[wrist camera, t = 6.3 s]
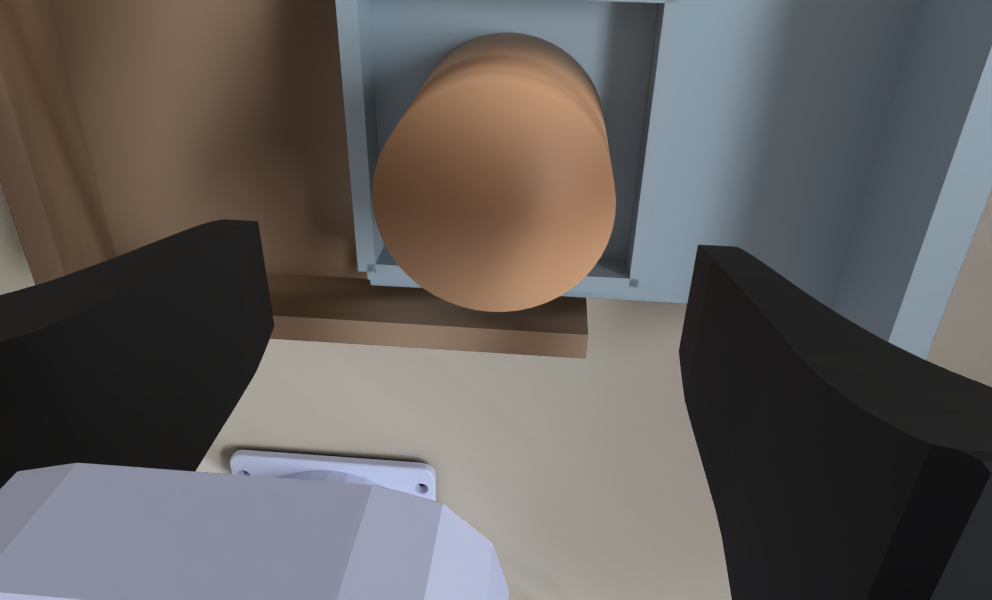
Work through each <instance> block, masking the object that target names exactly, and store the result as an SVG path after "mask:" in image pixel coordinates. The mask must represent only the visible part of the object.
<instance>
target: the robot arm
mask: <svg viewBox="0 0 992 600" xmlns="http://www.w3.org/2000/svg"><path fill="white" fill-rule="evenodd" d="M273 329H274V320H273V313H272V307H271V300H270V294H269V288H268V281H267V275H266V268H265V262H264V256H263V249H262V243H261V236H260V230H259V224H258V221H247V220H229V219H221V220H216V221H211V222H208V223H204V224H201V225H198V226H195V227H192V228H190V229H187V230H184V231H181V232H179V233H176V234H174V235H171V236H168V237H166V238H163V239H161V240H158V241H156V242H153V243H151V244H148V245H146V246H143V247H141V248H138V249H135V250H133V251H130V252H128V253H125V254H123V255H120V256H118V257H115V258H112V259H110V260H107V261H104V262H101V263H98V264H96V265H93V266H90V267H87V268H85V269H82V270H79V271H76V272H74V273H71V274H68V275H65V276H63V277H60V278H57V279H54V280H51V281H48V282H44V283H41V284H38V285H35V286H31V287H28V288H25V289H21V290H18V291H14V292H10V293H7V294H3V295H0V600H508V597H509V589H508V586H507V583H506V580H505V577H504V574H503V572H502V569H501V566H500V563H499V560H498V557H497V554H496V551H495V548H494V546H493V543H492V542H490V541H489V540H488V539H487V538H485V537H484V536H483V535H481V534H480V533H479V532H478V531H476V530H475V529H474V528H473V527H471V526H470V525H469V524H468V523H466V522H465V521H464V520H463V519H461V518H460V517H459V516H457V515H456V514H455V513H454V512H452V511H451V510H450V509H449V508H447V507H446V506H445V505H444V504H442V503H440V502H437V501H436V473H435V470H434V469H433V467H432V466H430V465H428V464H425V463H418V462H404V461H391V460H377V459H363V458H349V457H336V456H322V455H308V454H295V453H281V452H267V451H253V450H238V451H236V452H234V454H233V455H232V457H231V459H230V468H231V473H232V474H220V473H207V472H195V471H196V469H197V468H198V466H199V464H200V463H201V461H202V460H203V458H204V456H205V455H206V453H207V451H208V450H209V448H210V447H211V445H212V443H213V442H214V440H215V439H216V437H217V435H218V434H219V432H220V431H221V429H222V427H223V426H224V424H225V422H226V421H227V419H228V418H229V416H230V414H231V413H232V411H233V410H234V408H235V406H236V405H237V403H238V401H239V400H240V398H241V396H242V395H243V393H244V391H245V390H246V388H247V386H248V385H249V383H250V381H251V380H252V378H253V376H254V374H255V373H256V371H257V368H258V366H259V364H260V361H261V359H262V357H263V354H264V352H265V349H266V347H267V344H268V342H269V339H270V336H271V334H272V331H273ZM679 356H680V365H681V374H682V382H683V390H684V397H685V403H686V406H687V410H688V414H689V417H690V421H691V425H692V428H693V432H694V436H695V439H696V443H697V446H698V450H699V453H700V457H701V460H702V464H703V467H704V471H705V474H706V478H707V481H708V485H709V488H710V492H711V495H712V499H713V502H714V506H715V509H716V513H717V518H718V522H719V526H720V531H721V535H722V540H723V546H724V553H725V559H726V565H727V571H728V578H729V584H730V590H731V597H732V600H992V387H989V386H987V385H984V384H982V383H979V382H977V381H974V380H972V379H969V378H967V377H964V376H962V375H959V374H956V373H954V372H951V371H949V370H947V369H944V368H942V367H940V366H938V365H935V364H933V363H931V362H928V361H926V360H924V359H922V358H920V357H918V356H916V355H914V354H912V353H910V352H908V351H906V350H904V349H902V348H900V347H897V346H895V345H893V344H891V343H889V342H887V341H885V340H883V339H882V338H880V337H878V336H876V335H874V334H872V333H870V332H869V331H867V330H865V329H863V328H862V327H860V326H858V325H857V324H855V323H853V322H852V321H850V320H848V319H847V318H845V317H843V316H842V315H840V314H838V313H837V312H835V311H833V310H832V309H830V308H829V307H827V306H826V305H824V304H823V303H821V302H819V301H818V300H816V299H815V298H813V297H812V296H810V295H809V294H807V293H806V292H805V291H803V290H802V289H800V288H799V287H797V286H796V285H794V284H793V283H791V282H790V281H789V280H787V279H786V278H784V277H783V276H782V275H780V274H779V273H777V272H776V271H774V270H773V269H772V268H770V267H769V266H767V265H766V264H764V263H763V262H762V261H760V260H759V259H757V258H756V257H754V256H753V255H751V254H749V253H748V252H746V251H744V250H743V249H741V248H739V247H734V246H716V245H698V247H697V252H696V258H695V263H694V269H693V275H692V280H691V286H690V292H689V297H688V303H687V309H686V314H685V320H684V326H683V331H682V337H681V342H680V348H679ZM243 470H244V471H247V472H248V473H246V472H244V471H243ZM419 484H425V485H426V486H420V485H419Z"/></svg>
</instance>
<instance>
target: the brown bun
mask: <svg viewBox="0 0 992 600" xmlns="http://www.w3.org/2000/svg"><path fill="white" fill-rule="evenodd" d="M372 202H373V210H374V216H375V220H376V224H377V228H378V231H379V233H380V235H381V238H382V240H383V243H384V244H385V246H386V248H387V250H388V251H389V253H390V255H391V256H392V258H393V259H394V260H395V262H396V263H397V264H398V266H399V267H400V268H401V269H402V270H403V271H404V272H405V273H406V274H407V275H408V276H409V277H410V278H411V279H412V280H413V281H415V282H416V283H417V284H418V285H419V286H421V287H422V288H424V289H425V290H427V291H428V292H430V293H431V294H433V295H435V296H437V297H439V298H441V299H443V300H445V301H447V302H450V303H453V304H455V305H458V306H461V307H465V308H469V309H473V310H480V311H488V312H508V311H518V310H523V309H527V308H532V307H535V306H538V305H541V304H544V303H547V302H549V301H551V300H553V299H555V298H557V297H559V296H561V295H563V294H564V293H566V292H567V291H569V290H570V289H572V288H573V287H574V286H575V285H577V284H578V283H579V282H580V281H581V280H583V279H584V277H585V276H586V275H587V274H588V273H589V272H590V271H591V270H592V269H593V267H594V266H595V265H596V263H597V262H598V260H599V259H600V257H601V256H602V254H603V252H604V250H605V248H606V246H607V244H608V241H609V238H610V235H611V233H612V229H613V224H614V219H615V210H616V195H615V185H614V178H613V172H612V165H611V159H610V153H609V146H608V140H607V133H606V127H605V120H604V114H603V109H602V105H601V100H600V98H599V95H598V93H597V90H596V88H595V86H594V84H593V82H592V80H591V78H590V77H589V75H588V74H587V73H586V71H585V70H584V69H583V67H582V66H581V65H580V64H579V63H578V62H577V61H576V60H575V59H574V58H573V57H572V56H571V55H569V54H568V53H567V52H565V51H564V50H563V49H561V48H560V47H558V46H556V45H554V44H553V43H551V42H548V41H546V40H544V39H541V38H539V37H535V36H531V35H527V34H520V33H496V34H490V35H485V36H482V37H478V38H475V39H473V40H470V41H468V42H466V43H464V44H462V45H460V46H459V47H457V48H456V49H454V50H453V51H451V52H450V53H449V54H448V55H447V56H445V57H444V58H443V59H442V60H441V61H440V62H439V63H438V64H437V66H436V67H435V68H434V69H433V71H432V72H431V74H430V75H429V77H428V78H427V80H426V81H425V83H424V84H423V86H422V87H421V89H420V90H419V92H418V94H417V95H416V97H415V98H414V100H413V101H412V103H411V104H410V106H409V108H408V109H407V111H406V112H405V114H404V115H403V117H402V118H401V120H400V121H399V123H398V125H397V126H396V128H395V129H394V131H393V132H392V134H391V135H390V137H389V139H388V140H387V142H386V143H385V145H384V147H383V150H382V152H381V154H380V156H379V159H378V162H377V165H376V169H375V173H374V179H373V186H372Z"/></svg>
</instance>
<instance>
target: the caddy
mask: <svg viewBox="0 0 992 600" xmlns="http://www.w3.org/2000/svg"><path fill="white" fill-rule="evenodd" d="M0 182H1V185H2V188H3V191H4V194H5V197H6V200H7V203H8V205H9V208H10V211H11V214H12V217H13V220H14V223H15V226H16V229H17V232H18V235H19V238H20V241H21V244H22V247H23V250H24V252H25V255H26V258H27V261H28V264H29V267H30V270H31V273H32V276H33V279H34V282H35V285H38V284H41V283H44V282H48V281H51V280H54V279H57V278H60V277H63V276H65V275H68V274H71V273H74V272H76V271H79V270H82V269H85V268H87V267H90V266H93V265H96V264H98V263H101V262H104V261H107V260H110V259H112V258H115V257H118V256H120V255H123V254H125V253H128V252H130V251H133V250H135V249H138V248H141V247H143V246H146V245H148V244H151V243H153V242H156V241H158V240H161V239H163V238H166V237H168V236H171V235H174V234H176V233H179V232H181V231H184V230H187V229H190V228H192V227H195V226H198V225H201V224H204V223H208V222H211V221H216V220H221V219H229V220H247V221H258V224H259V230H260V236H261V243H262V249H263V256H264V262H265V268H266V275H267V281H268V288H269V294H270V300H271V307H272V313H273V320H274V329H273V331H272V334H271V336H270V339H286V340H302V341H317V342H333V343H349V344H365V345H381V346H396V347H412V348H428V349H444V350H459V351H475V352H491V353H507V354H523V355H538V356H554V357H570V358H586V349H587V339H588V326H587V307H586V298H585V297H568V296H559V297H557V298H555V299H553V300H551V301H549V302H547V303H544V304H541V305H538V306H535V307H532V308H527V309H523V310H518V311H508V312H488V311H480V310H473V309H469V308H465V307H461V306H458V305H455V304H453V303H450V302H447V301H445V300H443V299H441V298H439V297H437V296H435V295H433V294H431V293H430V292H428V291H427V290H425V289H424V288H414V287H397V286H380V285H371V282H370V280H368V277H367V272H362V271H358V262H357V251H356V239H355V227H354V215H353V203H352V191H351V180H350V168H349V156H348V144H347V132H346V120H345V108H344V97H343V85H342V73H341V61H340V49H339V37H338V26H337V14H336V2H335V0H0Z"/></svg>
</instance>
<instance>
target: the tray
mask: <svg viewBox="0 0 992 600" xmlns="http://www.w3.org/2000/svg"><path fill="white" fill-rule="evenodd" d="M335 2H336V14H337V26H338V37H339V49H340V61H341V73H342V85H343V97H344V108H345V120H346V132H347V144H348V156H349V168H350V180H351V191H352V203H353V215H354V227H355V239H356V251H357V262H358V271H362V272H367V277H368V280H370V282H371V285H380V286H397V287H414V288H422V287H421V286H419V285H418V284H417V283H416V282H415V281H413V280H412V279H411V278H410V277H409V276H408V275H407V274H406V273H405V272H404V271H403V270H402V269H401V268H400V267H399V266H398V264H397V263H396V262H395V260H394V259H393V258H392V256H391V255H390V253H389V251H388V250H387V248H386V246H385V244H384V243H383V240H382V238H381V235H380V233H379V231H378V228H377V224H376V220H375V216H374V210H373V202H372V186H373V179H374V173H375V169H376V165H377V162H378V159H379V156H380V154H381V152H382V150H383V147H384V145H385V143H386V142H387V140H388V139H389V137H390V135H391V134H392V132H393V131H394V129H395V128H396V126H397V125H398V123H399V121H400V120H401V118H402V117H403V115H404V114H405V112H406V111H407V109H408V108H409V106H410V104H411V103H412V101H413V100H414V98H415V97H416V95H417V94H418V92H419V90H420V89H421V87H422V86H423V84H424V83H425V81H426V80H427V78H428V77H429V75H430V74H431V72H432V71H433V69H434V68H435V67H436V66H437V64H438V63H439V62H440V61H441V60H442V59H443V58H444V57H445V56H447V55H448V54H449V53H450V52H451V51H453V50H454V49H456V48H457V47H459V46H460V45H462V44H464V43H466V42H468V41H470V40H473V39H475V38H478V37H482V36H485V35H490V34H496V33H520V34H527V35H531V36H535V37H539V38H541V39H544V40H546V41H548V42H551V43H553V44H554V45H556V46H558V47H560V48H561V49H563V50H564V51H565V52H567V53H568V54H569V55H571V56H572V57H573V58H574V59H575V60H576V61H577V62H578V63H579V64H580V65H581V66H582V67H583V69H584V70H585V71H586V73H587V74H588V75H589V77H590V78H591V80H592V82H593V84H594V86H595V88H596V90H597V93H598V95H599V98H600V100H601V105H602V109H603V114H604V120H605V127H606V133H607V140H608V146H609V153H610V159H611V165H612V172H613V178H614V185H615V195H616V210H615V219H614V224H613V229H612V233H611V235H610V238H609V241H608V244H607V246H606V248H605V250H604V252H603V254H602V256H601V257H600V259H599V260H598V262H597V263H596V265H595V266H594V267H593V269H592V270H591V271H590V272H589V273H588V274H587V275H586V276H585V277H584V279H583V280H581V281H580V282H579V283H578V284H577V285H575V286H574V287H573V288H572V289H570V290H569V291H567V292H566V293H564V294H563V295H561V296H568V297H585V298H602V299H620V300H637V301H654V302H671V303H688V297H689V292H690V286H691V280H692V275H693V269H694V263H695V258H696V252H697V247H698V245H716V246H734V247H739V248H741V249H743V250H744V251H746V252H748V253H749V254H751V255H753V256H754V257H756V258H757V259H759V260H760V261H762V262H763V263H764V264H766V265H767V266H769V267H770V268H772V269H773V270H774V271H776V272H777V273H779V274H780V275H782V276H783V277H784V278H786V279H787V280H789V281H790V282H791V283H793V284H794V285H796V286H797V287H799V288H800V289H802V290H803V291H805V292H806V293H807V294H809V295H810V296H812V297H813V298H815V299H816V300H818V301H819V302H821V303H823V304H824V305H826V306H827V307H829V308H830V309H832V310H833V311H835V312H837V313H838V314H840V315H842V316H843V317H845V318H847V319H848V320H850V321H852V322H853V323H855V324H857V325H858V326H860V327H862V328H863V329H865V330H867V331H869V332H870V333H872V334H874V335H876V336H878V337H880V338H882V339H883V340H885V341H887V342H889V343H891V344H893V345H895V346H897V347H900V348H902V349H904V350H906V351H908V352H910V353H912V354H914V355H916V356H918V357H920V358H922V359H924V360H926V357H927V354H928V352H929V349H930V347H931V344H932V341H933V339H934V336H935V334H936V331H937V329H938V326H939V323H940V321H941V318H942V316H943V313H944V310H945V308H946V305H947V303H948V300H949V297H950V295H951V292H952V290H953V287H954V284H955V282H956V279H957V277H958V274H959V272H960V269H961V266H962V264H963V261H964V259H965V256H966V253H967V251H968V248H969V246H970V243H971V240H972V238H973V235H974V233H975V230H976V227H977V225H978V222H979V220H980V217H981V215H982V212H983V209H984V207H985V204H986V202H987V199H988V196H989V194H990V191H991V189H992V0H335Z"/></svg>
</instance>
